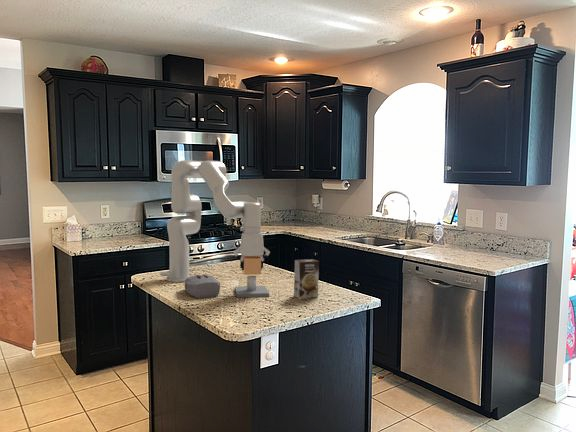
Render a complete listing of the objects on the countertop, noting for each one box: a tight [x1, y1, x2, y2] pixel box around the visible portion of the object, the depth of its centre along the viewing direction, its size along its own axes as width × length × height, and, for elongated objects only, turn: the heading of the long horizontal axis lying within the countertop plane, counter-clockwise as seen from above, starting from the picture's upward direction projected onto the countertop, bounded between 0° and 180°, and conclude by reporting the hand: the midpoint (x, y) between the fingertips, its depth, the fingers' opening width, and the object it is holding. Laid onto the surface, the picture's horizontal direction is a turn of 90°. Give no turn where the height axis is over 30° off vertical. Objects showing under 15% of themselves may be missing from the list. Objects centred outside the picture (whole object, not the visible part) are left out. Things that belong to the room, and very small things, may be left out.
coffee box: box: [293, 258, 320, 300], centre depth 207 cm, size 9×6×16 cm
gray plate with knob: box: [234, 275, 270, 298], centre depth 212 cm, size 14×14×8 cm
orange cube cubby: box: [242, 256, 262, 276], centre depth 212 cm, size 7×7×7 cm
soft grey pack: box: [184, 274, 221, 299], centre depth 212 cm, size 15×8×20 cm
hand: (251, 269), depth 212 cm, fingers closed on orange cube cubby, 7 cm apart
